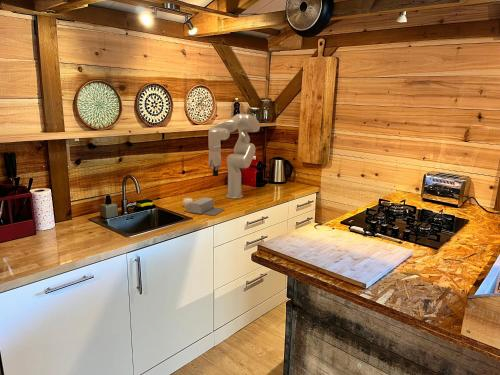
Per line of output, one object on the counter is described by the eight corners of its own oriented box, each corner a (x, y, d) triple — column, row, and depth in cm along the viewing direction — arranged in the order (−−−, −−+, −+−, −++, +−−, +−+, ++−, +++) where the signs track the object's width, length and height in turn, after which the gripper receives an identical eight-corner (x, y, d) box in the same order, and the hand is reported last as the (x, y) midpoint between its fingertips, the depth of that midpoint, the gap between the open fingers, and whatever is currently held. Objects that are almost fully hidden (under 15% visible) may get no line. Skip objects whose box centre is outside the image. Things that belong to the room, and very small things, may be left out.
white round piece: (186, 204, 259) (186, 197, 258) (194, 205, 257) (194, 198, 256) (181, 206, 254) (181, 199, 253) (189, 207, 252) (189, 200, 250)
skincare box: (203, 206, 254) (189, 213, 240) (203, 195, 252) (189, 202, 239) (214, 208, 250) (201, 215, 237) (214, 197, 248) (200, 204, 235)
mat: (195, 205, 256) (195, 205, 256) (225, 209, 248) (225, 209, 248) (183, 211, 243) (183, 211, 242) (214, 216, 235) (214, 215, 235)
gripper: (214, 146, 259) (215, 173, 264) (204, 150, 245) (205, 178, 250) (224, 147, 256) (225, 173, 261) (214, 150, 243) (215, 178, 248)
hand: (215, 175), depth 256 cm, fingers closed
